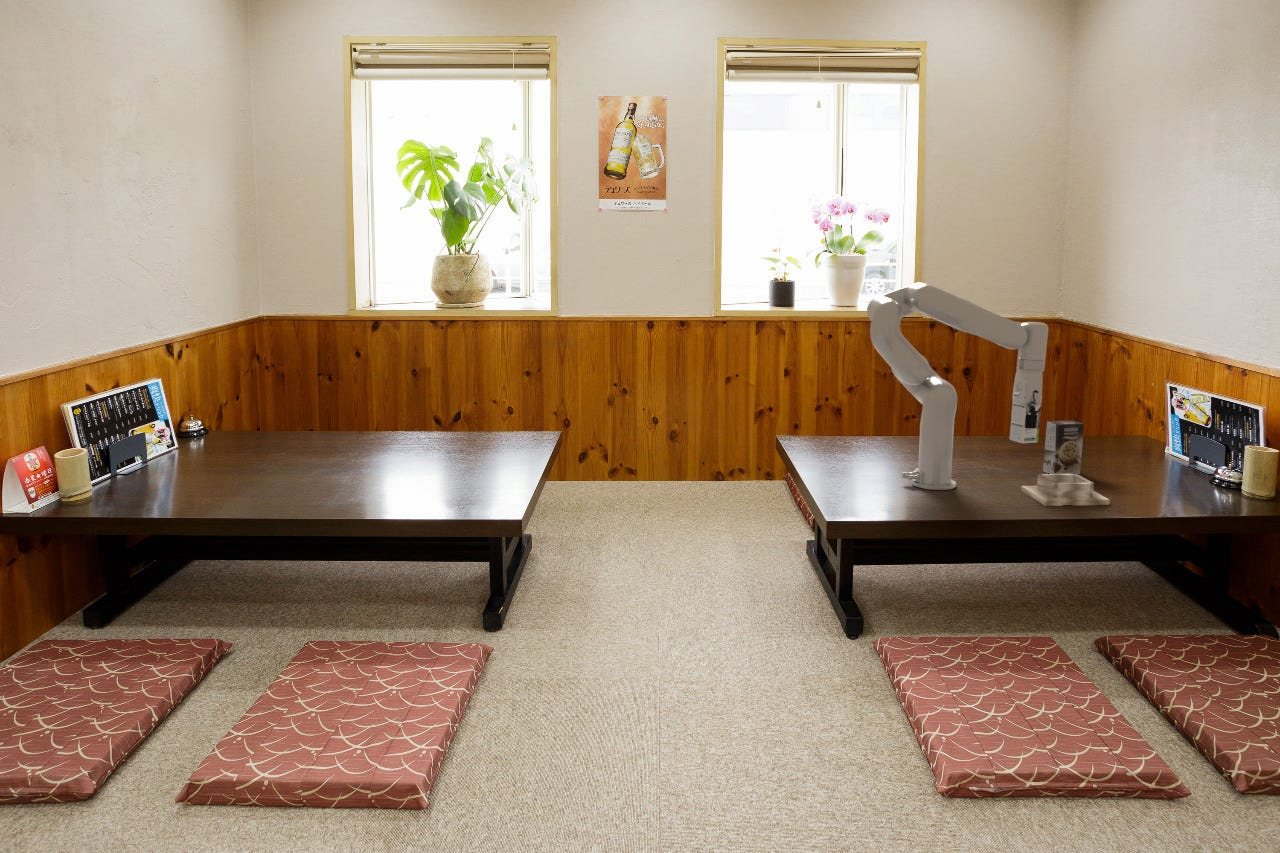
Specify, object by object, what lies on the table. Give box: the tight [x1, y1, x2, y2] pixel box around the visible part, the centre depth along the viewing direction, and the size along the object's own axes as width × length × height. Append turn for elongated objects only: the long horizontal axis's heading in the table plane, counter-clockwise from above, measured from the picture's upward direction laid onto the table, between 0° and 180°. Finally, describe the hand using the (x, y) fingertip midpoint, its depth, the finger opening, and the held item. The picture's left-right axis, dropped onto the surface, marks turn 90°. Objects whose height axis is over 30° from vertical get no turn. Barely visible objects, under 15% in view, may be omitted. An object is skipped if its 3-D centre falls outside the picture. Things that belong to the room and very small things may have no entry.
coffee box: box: [1042, 419, 1085, 475], centre depth 318 cm, size 9×6×16 cm
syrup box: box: [1009, 392, 1043, 444], centre depth 301 cm, size 6×6×14 cm
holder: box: [1020, 473, 1110, 507], centre depth 291 cm, size 18×16×6 cm
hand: (1024, 425), depth 301 cm, fingers closed on syrup box, 7 cm apart
